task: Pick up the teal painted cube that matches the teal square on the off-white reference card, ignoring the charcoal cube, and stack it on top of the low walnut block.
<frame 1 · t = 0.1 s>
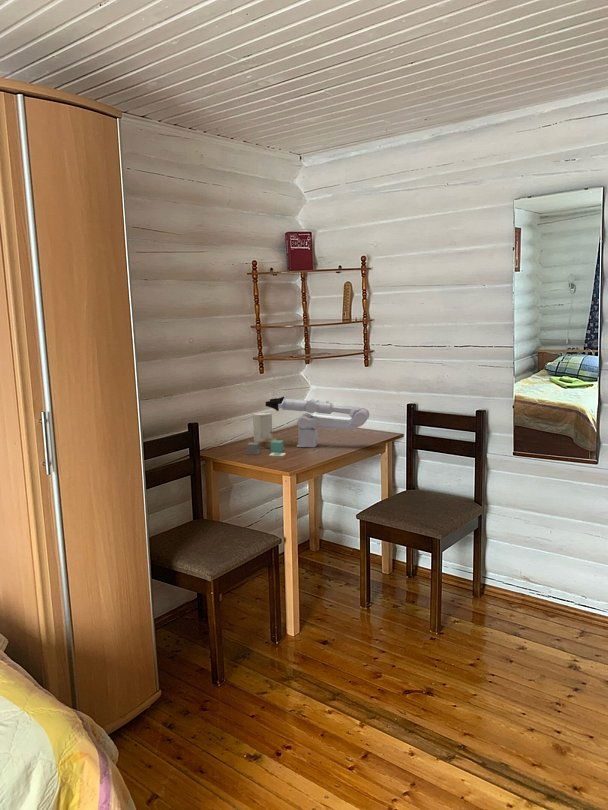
hand: (267, 402, 330), 22 cm above the table, tool horizontal, fingers open, 7 cm apart
walnut block: (267, 447, 328), on the table
charcoal cube: (253, 453, 315), on the table
teal cube: (277, 451, 319), on the table
skincare box: (263, 442, 341), on the table
reference card: (277, 454, 311), on the table
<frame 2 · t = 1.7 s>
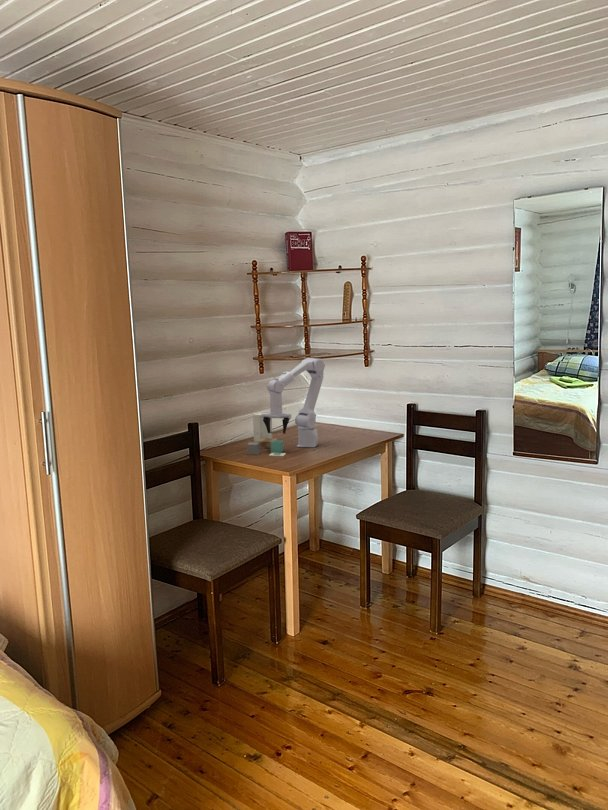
hand: (276, 433, 317), 9 cm above the table, tool pointing down, fingers open, 7 cm apart
nothing on the table moved.
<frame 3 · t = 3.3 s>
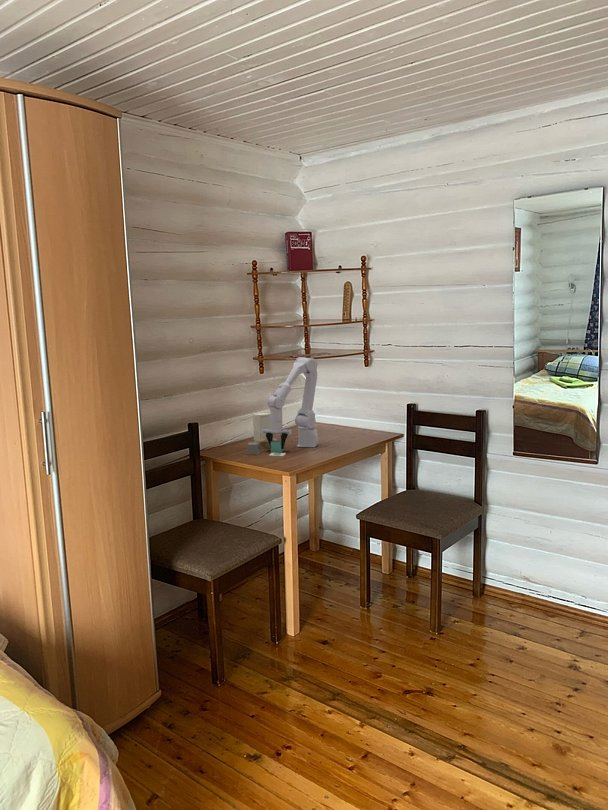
hand: (277, 448, 318), 1 cm above the table, tool pointing down, fingers closed on teal cube, 5 cm apart
teal cube: (277, 451, 319), on the table, touching gripper
everything else where it was.
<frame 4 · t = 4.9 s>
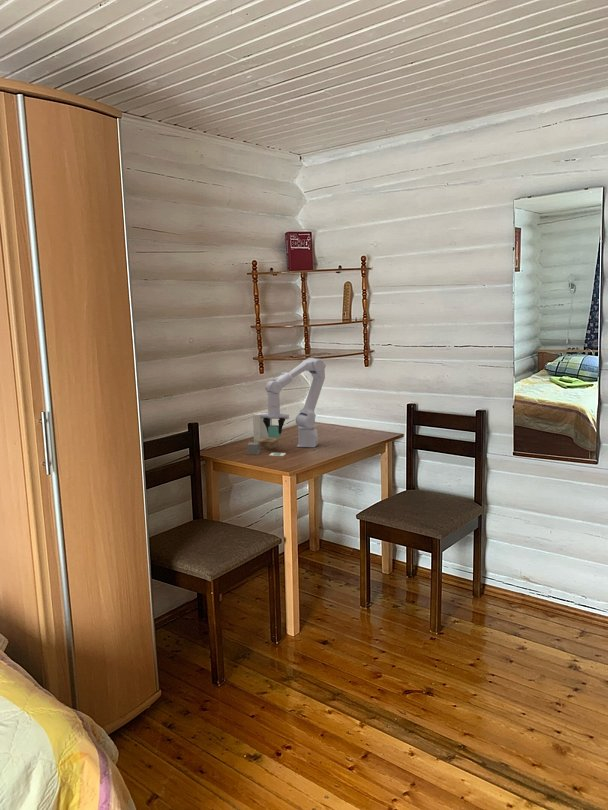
hand: (274, 433, 319), 8 cm above the table, tool pointing down, fingers closed on teal cube, 5 cm apart
teal cube: (274, 436, 320), point 7 cm above the table, touching gripper
everything else where it was.
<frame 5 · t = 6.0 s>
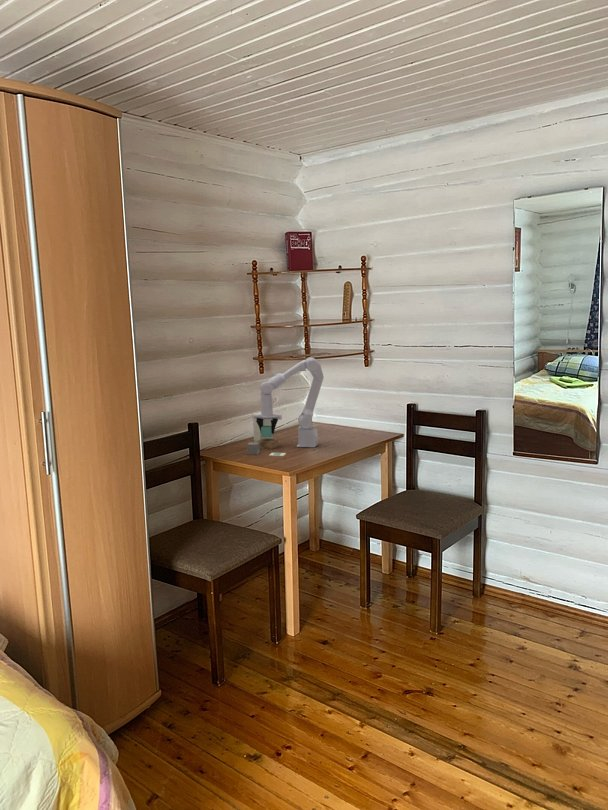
hand: (267, 433, 327), 7 cm above the table, tool pointing down, fingers closed on teal cube, 5 cm apart
teal cube: (267, 436, 327), point 6 cm above the table, touching gripper
everything else where it was.
when the fingers open (7 cm above the table, at t = 6.6 s): teal cube drops 2 cm, point 4 cm above the table.
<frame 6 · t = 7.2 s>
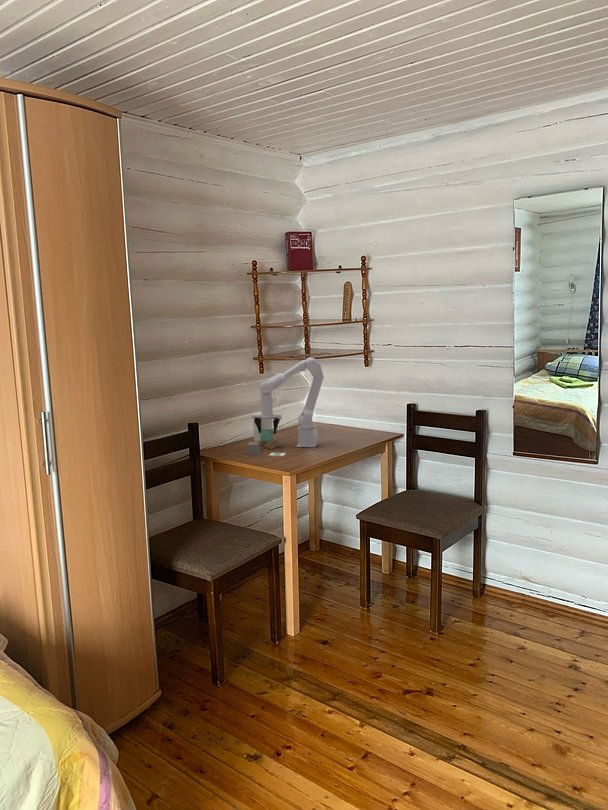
hand: (267, 433, 327), 7 cm above the table, tool pointing down, fingers open, 7 cm apart
teal cube: (267, 440, 327), point 4 cm above the table
everything else where it was.
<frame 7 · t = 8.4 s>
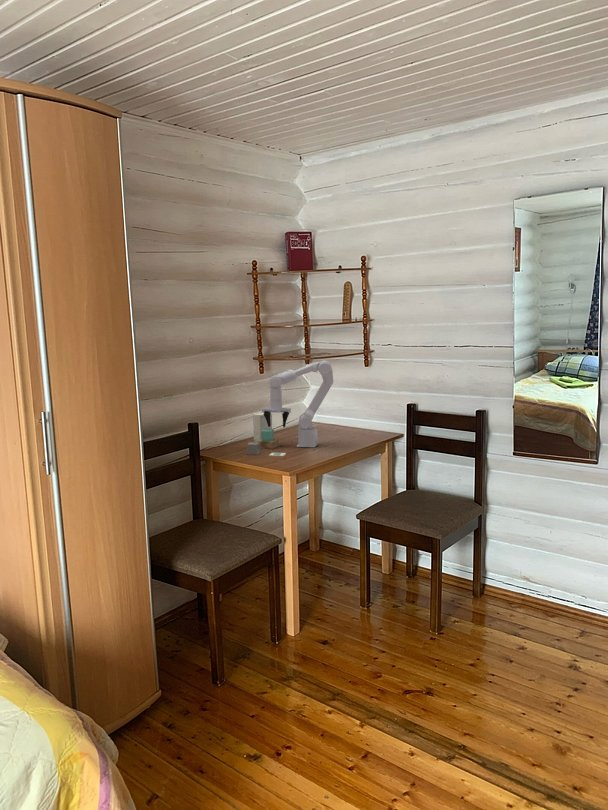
hand: (276, 426, 328), 10 cm above the table, tool pointing down, fingers open, 7 cm apart
walnut block: (268, 447, 328), on the table, touching teal cube
teal cube: (267, 440, 327), point 4 cm above the table, touching walnut block
everything else where it was.
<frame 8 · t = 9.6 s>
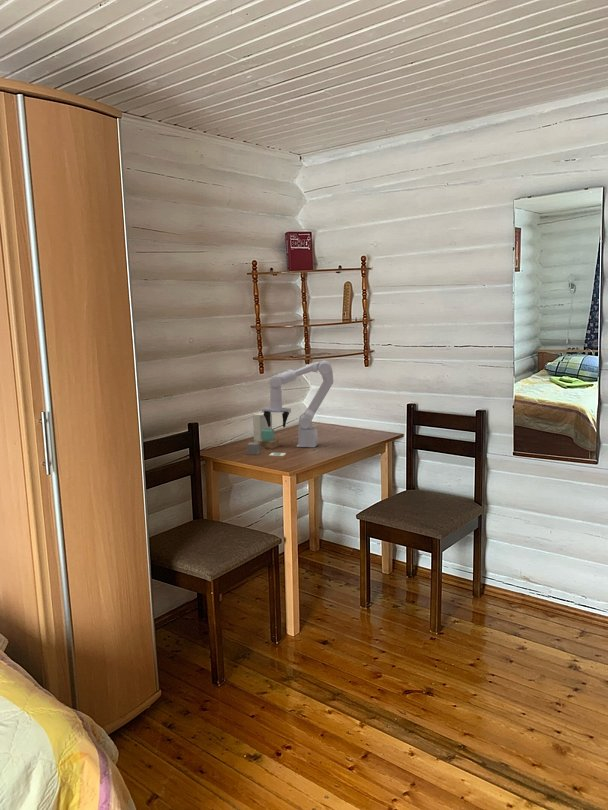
hand: (276, 426, 328), 10 cm above the table, tool pointing down, fingers open, 7 cm apart
nothing on the table moved.
at the end: teal cube 0.3 cm off-centre on the walnut block, point 4.0 cm above the walnut block's base; teal cube tilted 0°; the gripper is holding nothing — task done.
